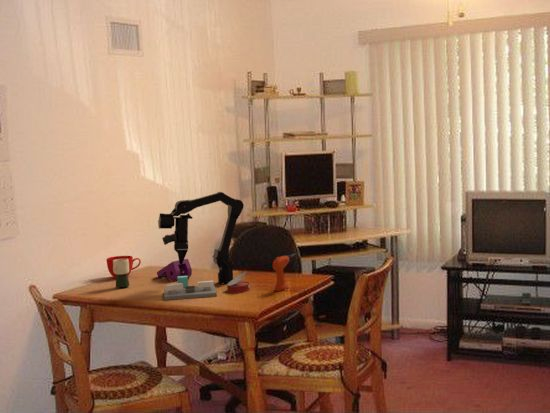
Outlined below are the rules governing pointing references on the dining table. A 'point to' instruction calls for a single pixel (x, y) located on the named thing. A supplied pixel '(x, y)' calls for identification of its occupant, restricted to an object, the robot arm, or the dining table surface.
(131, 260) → the ceramic cup
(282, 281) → the toy drill
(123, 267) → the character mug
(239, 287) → the canned food
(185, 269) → the mounting bracket
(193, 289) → the plate
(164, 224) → the robot arm
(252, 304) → the dining table surface
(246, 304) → the dining table surface
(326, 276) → the dining table surface
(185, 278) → the block
